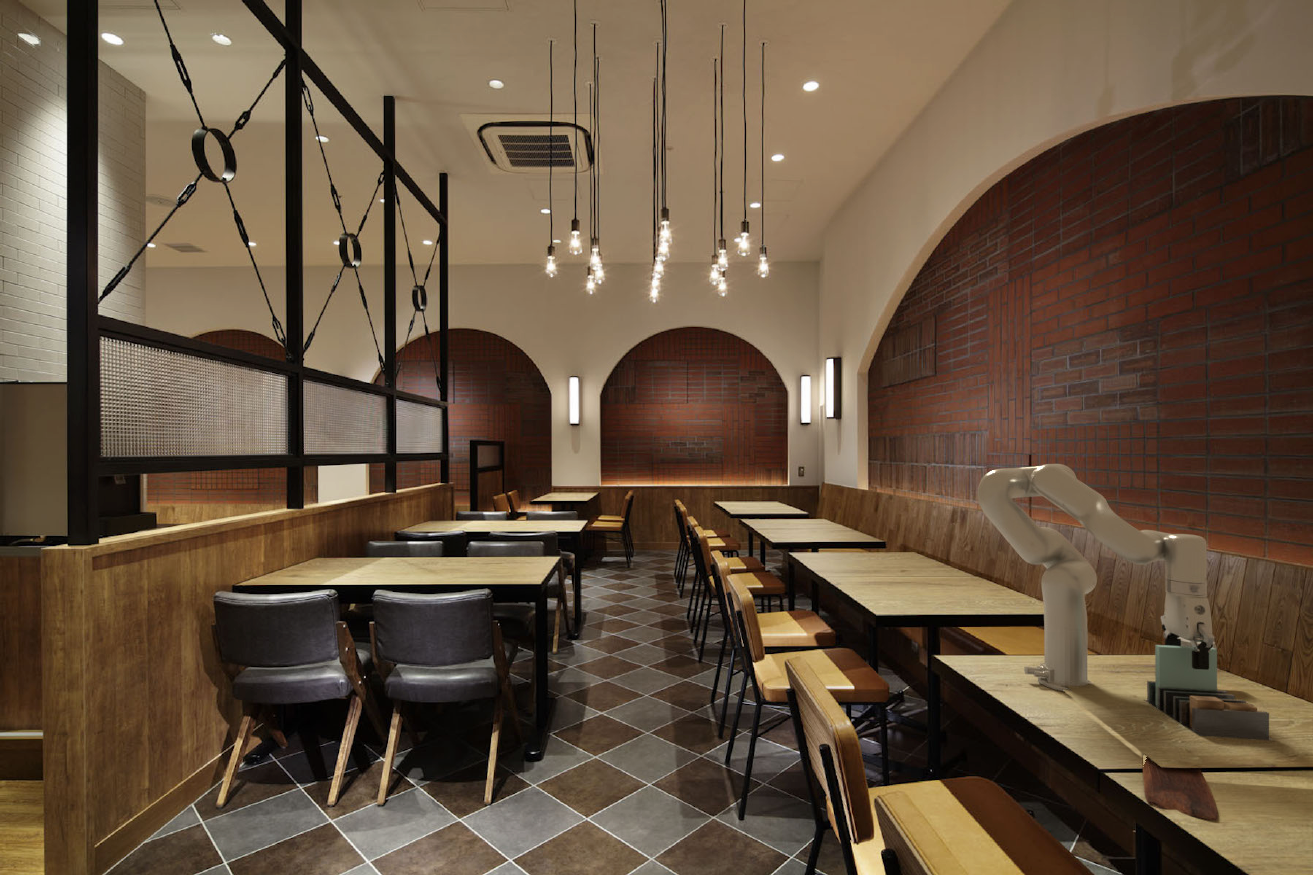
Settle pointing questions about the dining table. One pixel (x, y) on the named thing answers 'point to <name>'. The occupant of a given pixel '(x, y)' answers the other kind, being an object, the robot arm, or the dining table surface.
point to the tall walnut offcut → (1204, 703)
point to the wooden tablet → (1178, 790)
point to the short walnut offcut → (1238, 706)
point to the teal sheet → (1183, 669)
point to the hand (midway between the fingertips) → (1186, 661)
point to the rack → (1209, 713)
